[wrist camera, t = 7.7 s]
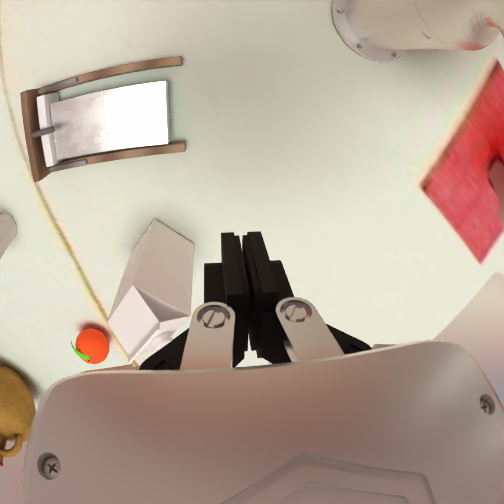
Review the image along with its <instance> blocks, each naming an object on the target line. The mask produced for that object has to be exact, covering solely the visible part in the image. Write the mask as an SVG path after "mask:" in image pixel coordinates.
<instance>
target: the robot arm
mask: <svg viewBox="0 0 504 504" xmlns="http://www.w3.org/2000/svg"><path fill="white" fill-rule="evenodd" d="M337 11H339V13H338V12H337ZM332 16H333V21H334V24H335V27H336V29H337V31H338V33H339V35H340V36H341V38H342V39H343V40H344V41H345V43H346V44H347V45H348V46H349V47H350V48H351V49H353V50H354V51H355V52H357V53H358V54H360V55H362V56H364V57H366V58H369V59H372V60H376V61H390V60H395V59H397V58H399V57H401V56H402V55H404V54H405V53H406V51H407V50H408V49H433V50H437V49H450V50H468V51H471V50H479V49H482V48H484V47H486V46H488V45H489V44H490V43H491V42H493V40H494V39H495V38H496V37H497V35H498V34H499V32H501V33H502V35H503V36H504V0H334V1H333V4H332ZM357 46H358V48H357ZM221 253H222V263H204V304H202V305H200V306H199V307H198V308H196V309H195V311H194V313H193V315H192V319H191V323H190V328H188V329H187V330H186V331H184V332H183V333H181V334H180V335H179V336H177V337H176V338H175V339H173V340H172V341H171V342H169V343H168V344H167V345H165V346H164V347H162V348H161V349H160V350H158V351H157V352H156V353H154V354H153V355H152V356H150V357H149V358H147V359H146V360H145V361H144V362H143V363H142V364H141V366H136V367H134V366H133V364H130V365H124V366H118V367H111V368H105V369H98V370H90V371H85V372H82V373H79V374H75V375H72V376H68V377H66V378H63V379H61V380H59V381H57V382H55V383H54V384H52V385H51V386H50V387H49V388H48V389H47V390H46V392H45V393H44V395H43V397H42V399H41V400H40V403H39V405H38V408H37V410H36V413H35V416H34V419H33V422H32V426H31V430H30V434H29V438H28V443H27V447H26V454H25V460H24V468H23V476H22V486H21V504H504V407H503V405H502V403H501V401H500V400H499V397H498V395H497V394H496V392H495V390H494V388H493V386H492V385H491V383H490V381H489V380H488V378H487V377H486V375H485V373H484V372H483V370H482V369H481V367H480V366H479V365H478V363H477V362H476V361H475V359H474V358H473V357H472V355H470V353H469V352H468V351H467V350H466V349H465V348H463V347H462V346H460V345H458V344H456V343H452V342H449V341H441V340H424V341H415V342H410V343H404V344H399V345H385V344H374V346H373V347H370V346H369V345H368V344H366V343H365V342H363V341H361V340H359V339H357V338H355V337H352V336H350V335H348V334H346V333H344V332H342V331H340V330H338V329H336V328H334V327H332V326H330V325H328V324H325V322H324V321H323V319H322V317H321V316H320V314H319V313H318V311H317V310H316V308H315V307H314V305H313V304H312V303H311V302H309V301H307V300H305V299H302V298H298V297H294V295H293V292H292V290H291V287H290V284H289V281H288V278H287V276H286V273H285V270H284V268H283V265H282V262H281V261H280V260H275V261H270V260H269V256H268V253H267V250H266V247H265V244H264V241H263V237H262V234H261V232H248V233H247V235H243V239H242V249H241V243H240V238H239V236H234V232H230V233H221ZM248 333H249V339H250V346H251V350H252V351H254V350H256V352H257V358H264V359H265V360H267V361H269V365H261V366H249V367H236V366H237V365H238V364H239V363H240V362H241V361H242V360H243V359H244V351H247V350H248Z"/></svg>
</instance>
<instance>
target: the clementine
mask: <svg viewBox="0 0 504 504" xmlns="http://www.w3.org/2000/svg"><path fill="white" fill-rule="evenodd" d="M71 345H72V342H71ZM72 348H73V349H74V351H75V352H76V353H77V355H79V356H80V357H81V358H82V359H83V360H84V361H85V362H87V363H91V364H98V363H100V362H102V361H103V360H105V358H106V357H107V355H108V353H109V342H108V340H107V338H106V336H105V335H104V334H103V333H102V332H101V331H99V330H97V329H93V328H89V329H85V330H83V331H82V332H81V333H80V334H79V335H78V337H77V339H76V349H75V348H74V346H73V345H72Z"/></svg>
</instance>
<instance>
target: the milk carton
mask: <svg viewBox="0 0 504 504" xmlns="http://www.w3.org/2000/svg"><path fill="white" fill-rule="evenodd" d="M193 260H194V244H193V243H192V242H190V241H189V240H187V239H185V238H184V237H182V236H181V235H179V234H178V233H176V232H175V231H173V230H171V229H170V228H168V227H167V226H165V225H164V224H162V223H161V222H159V221H157V220H156V219H154V220H153V222H152V223H151V224H150V226H149V227H148V229H147V230H146V232H145V233H144V234H143V236H142V237H141V239H140V240H139V242H138V243H137V245H136V246H135V248H134V249H133V251H132V253H131V255H130V258H129V261H128V263H127V266H126V269H125V272H124V274H123V277H122V280H121V283H120V286H119V289H118V292H117V295H116V298H115V301H114V304H113V307H112V310H111V313H110V316H109V320H108V325H109V327H110V328H111V330H112V331H113V333H114V334H115V336H116V337H117V339H118V340H119V342H120V343H121V345H122V346H123V348H124V349H125V351H126V352H127V353H128V355H129V359H128V364H130V363H131V362H132V361H133V360H134V359H135V357H136V356H137V355H138V354H142V353H145V352H149V351H153V350H157V351H158V350H160V349H161V348H162V347H164V346H165V345H167V344H168V343H169V342H171V341H172V340H173V339H172V337H171V336H172V335H173V334H174V333H175V332H176V331H177V330H178V329H179V327H180V326H181V325H182V324H183V323H184V322H185V321H186V320H187V319H188V318H189V317H190V315H191V296H192V276H193Z"/></svg>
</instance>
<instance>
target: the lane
mask: <svg viewBox="0 0 504 504" xmlns="http://www.w3.org/2000/svg"><path fill="white" fill-rule="evenodd" d="M180 65H182V57H181V56H178V57H170V58H162V59H155V60H148V61H142V62H136V63H131V64H125V65H120V66H116V67H111V68H107V69H102V70H98V71H94V72H90V73H87V74H83V75H79V76H76V77H73V78H69V79H66V80H63V81H60V82H57V83H54V84H51V85H48V86H45V87H42V88H38V89H32V90H26V91H24V92H21V93H20V94H21V106H22V115H23V124H24V131H25V138H26V144H27V150H28V155H29V161H30V166H31V170H32V175H33V179H34V182H37V181H40V180H42V179H43V178H44V177H46V176H47V175H48V174H50V173H51V172H54V171H59V170H64V169H69V168H73V167H79V166H84V165H89V164H95V163H101V162H107V161H113V160H119V159H126V158H133V157H141V156H149V155H157V154H166V153H176V152H185V150H186V141H179V142H169V143H168V144H159V145H149V146H140V147H132V148H124V149H117V150H110V151H104V152H99V153H93V154H88V155H83V156H78V157H73V158H68V159H64V160H61V161H60V162H58V163H57V164H55V165H53V166H49V167H47V166H46V161H45V156H44V150H43V144H42V138H41V136H43V135H46V134H49V133H53V132H54V131H55V127H54V126H51V127H48V128H44V129H41V130H40V124H39V116H38V106H37V97H39V96H42V95H46V94H49V93H52V92H55V91H58V90H62V89H65V88H68V87H72V86H75V85H79V84H82V83H86V82H90V81H94V80H98V79H102V78H106V77H111V76H116V75H120V74H125V73H131V72H136V71H142V70H149V69H155V68H163V67H171V66H180Z"/></svg>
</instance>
